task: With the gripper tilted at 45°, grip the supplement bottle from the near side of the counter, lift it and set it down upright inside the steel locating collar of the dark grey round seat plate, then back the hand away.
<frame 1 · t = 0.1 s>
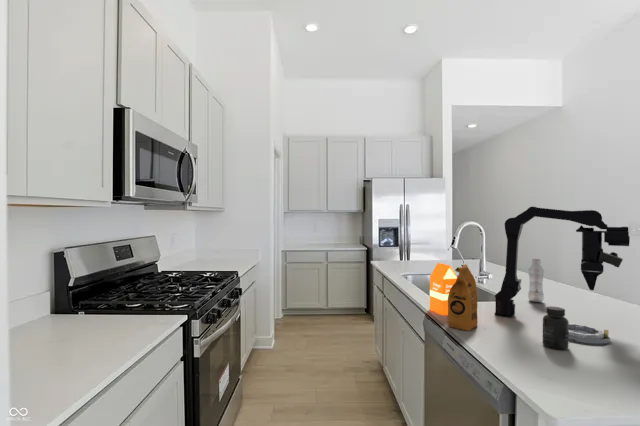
hand: (591, 287, 130), 15 cm above the worktop, tool pointing down, fingers open, 9 cm apart
supplement bottle: (555, 347, 112), on the worktop
seat plate: (579, 336, 121), on the worktop
plastic bottle: (535, 302, 168), on the worktop
coffee package: (462, 326, 132), on the worktop
orange juice: (443, 312, 151), on the worktop
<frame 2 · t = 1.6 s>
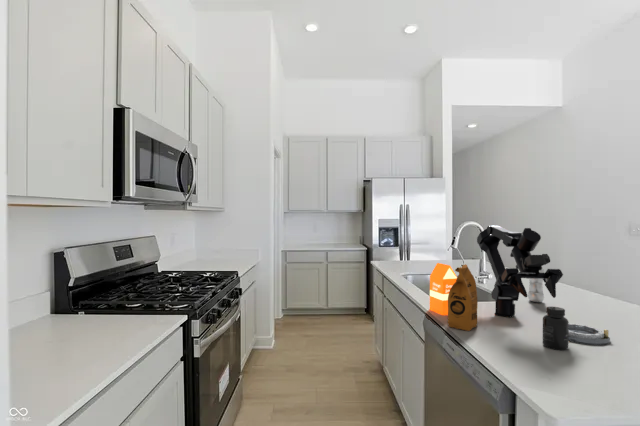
hand: (540, 296, 120), 13 cm above the worktop, tool tilted 45°, fingers open, 9 cm apart
nothing on the worktop moved.
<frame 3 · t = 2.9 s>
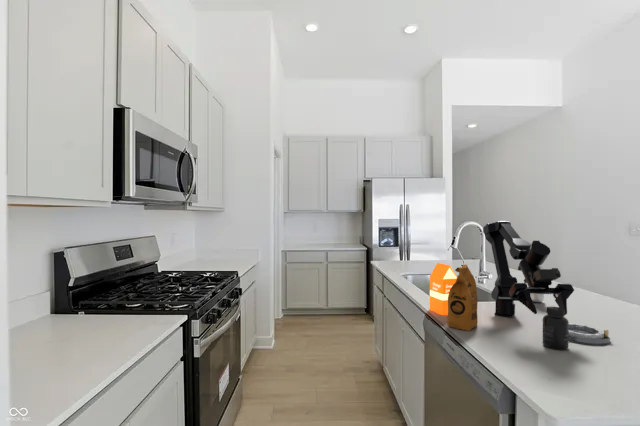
hand: (550, 313, 114), 10 cm above the worktop, tool tilted 45°, fingers open, 9 cm apart
nothing on the worktop moved.
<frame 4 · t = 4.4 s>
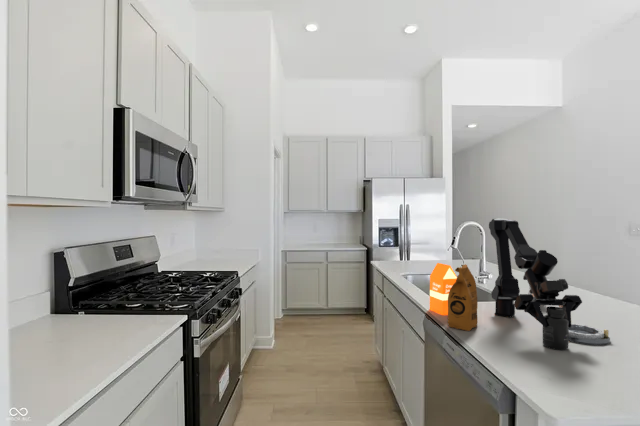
hand: (558, 326, 111), 7 cm above the worktop, tool tilted 45°, fingers closed on supplement bottle, 7 cm apart
supplement bottle: (555, 347, 112), on the worktop, touching gripper
everything else where it was.
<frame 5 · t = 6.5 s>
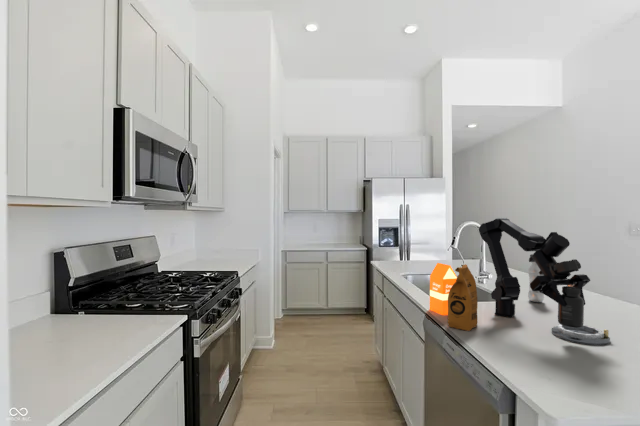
hand: (574, 305, 114), 12 cm above the worktop, tool tilted 45°, fingers closed on supplement bottle, 7 cm apart
supplement bottle: (570, 325, 116), point 5 cm above the worktop, touching gripper
everything else where it was.
when the fingers open (9 cm above the worktop, at t = 8.7 s): supplement bottle stays where it is, resting on seat plate.
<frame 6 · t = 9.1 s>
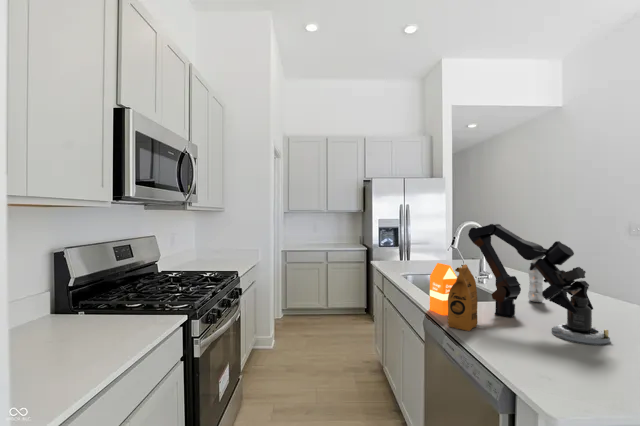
hand: (584, 311, 120), 9 cm above the worktop, tool tilted 45°, fingers open, 9 cm apart
supplement bottle: (579, 333, 121), point 1 cm above the worktop, touching seat plate
everything else where it was.
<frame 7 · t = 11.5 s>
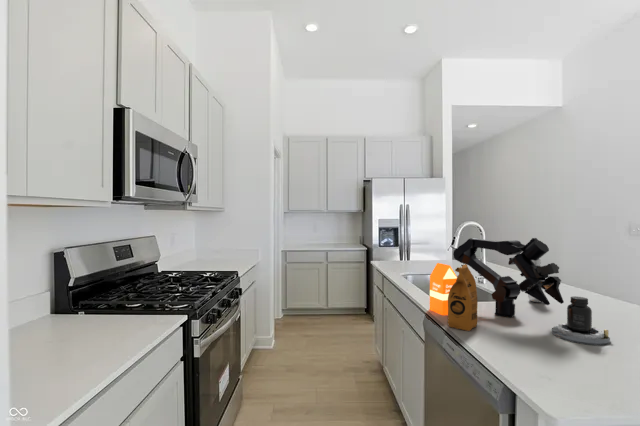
hand: (555, 303, 128), 9 cm above the worktop, tool tilted 45°, fingers open, 9 cm apart
nothing on the worktop moved.
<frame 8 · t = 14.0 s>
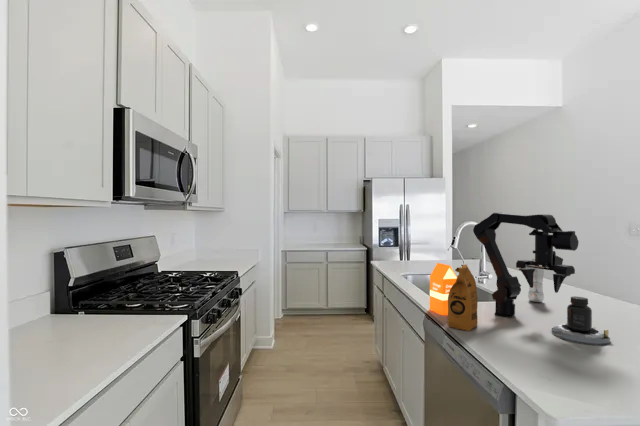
hand: (543, 290, 133), 13 cm above the worktop, tool pointing down, fingers open, 9 cm apart
nothing on the worktop moved.
at the end: supplement bottle 0.1 cm off-centre on the seat plate, point 0.8 cm above the seat plate's base; supplement bottle tilted 0°; the gripper is holding nothing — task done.
